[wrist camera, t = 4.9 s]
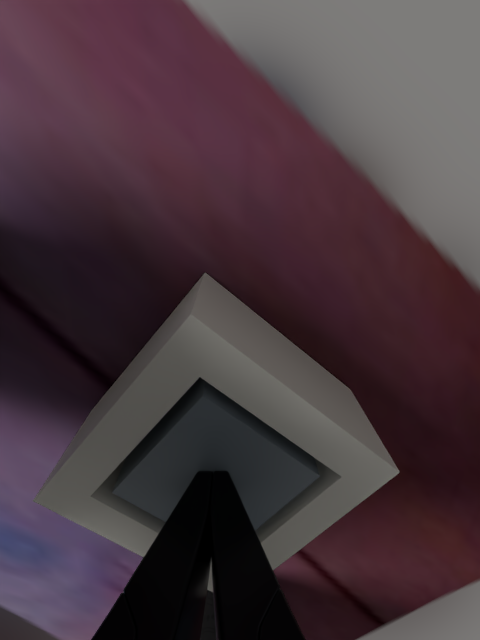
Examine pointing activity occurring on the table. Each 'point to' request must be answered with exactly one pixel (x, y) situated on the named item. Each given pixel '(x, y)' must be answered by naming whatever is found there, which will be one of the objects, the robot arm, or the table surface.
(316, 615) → the table surface
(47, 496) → the switch box
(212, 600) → the drinking cup
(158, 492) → the button
